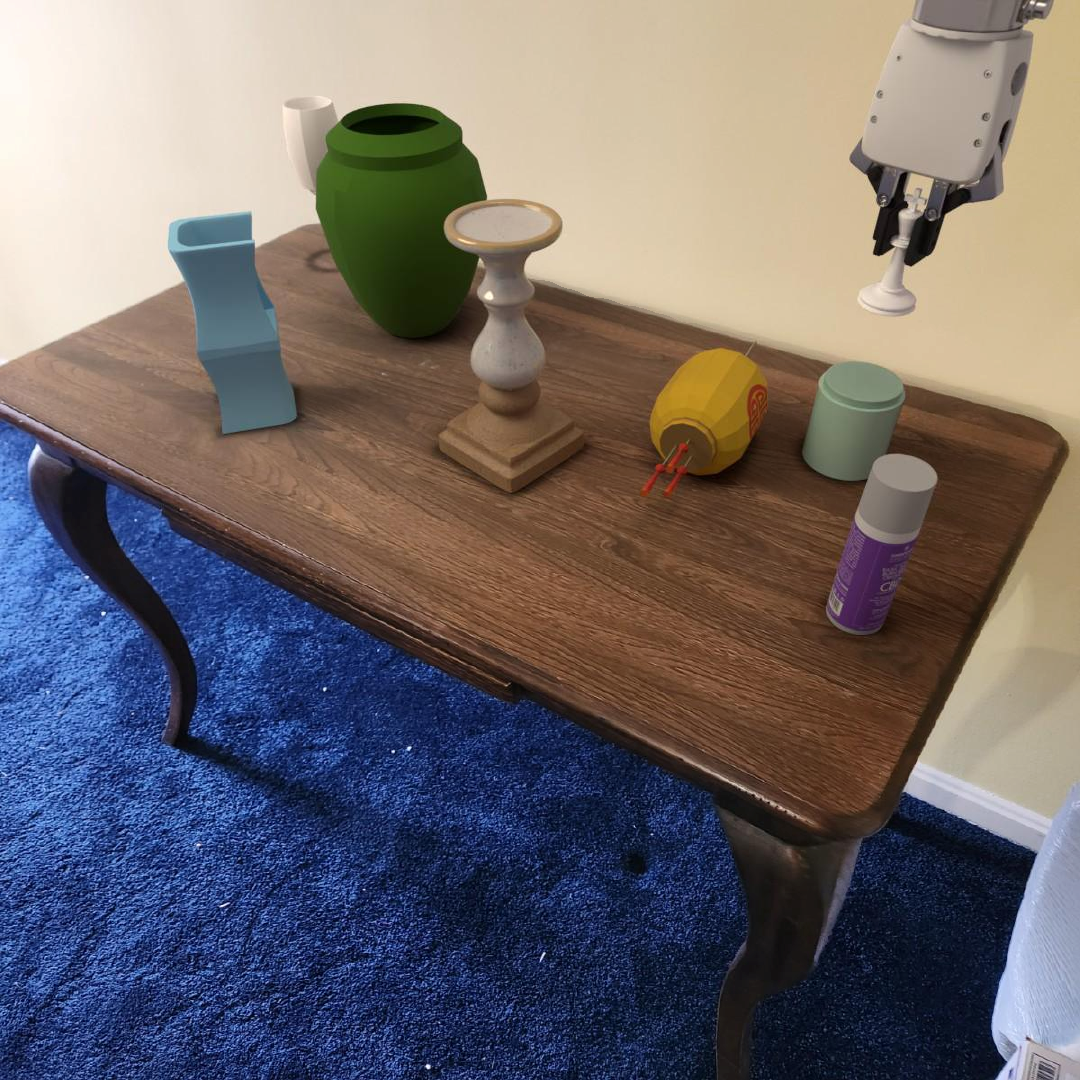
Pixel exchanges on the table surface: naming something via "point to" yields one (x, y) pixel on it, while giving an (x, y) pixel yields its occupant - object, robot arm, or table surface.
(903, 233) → the chess piece
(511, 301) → the candle holder
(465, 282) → the vase
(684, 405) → the lantern
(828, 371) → the upturned tumbler
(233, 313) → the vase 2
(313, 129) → the cup
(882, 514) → the container
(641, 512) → the table surface
